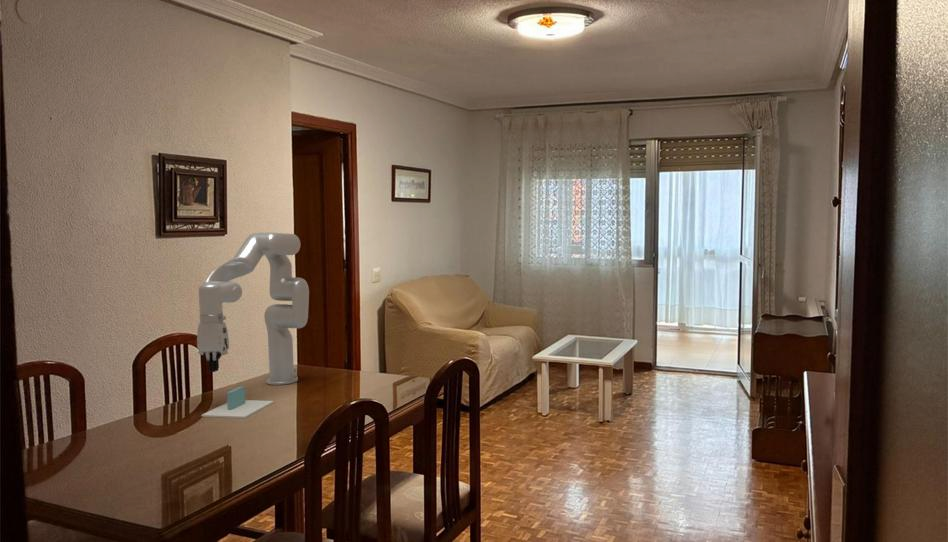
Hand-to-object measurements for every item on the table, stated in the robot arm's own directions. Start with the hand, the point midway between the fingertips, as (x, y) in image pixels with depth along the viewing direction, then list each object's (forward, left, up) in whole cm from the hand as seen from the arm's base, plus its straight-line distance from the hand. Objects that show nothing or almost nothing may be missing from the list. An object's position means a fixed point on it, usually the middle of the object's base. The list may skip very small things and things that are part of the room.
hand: (213, 371), depth 248 cm
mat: (+2, +10, -13) cm, 16 cm away
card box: (0, +8, -12) cm, 15 cm away
